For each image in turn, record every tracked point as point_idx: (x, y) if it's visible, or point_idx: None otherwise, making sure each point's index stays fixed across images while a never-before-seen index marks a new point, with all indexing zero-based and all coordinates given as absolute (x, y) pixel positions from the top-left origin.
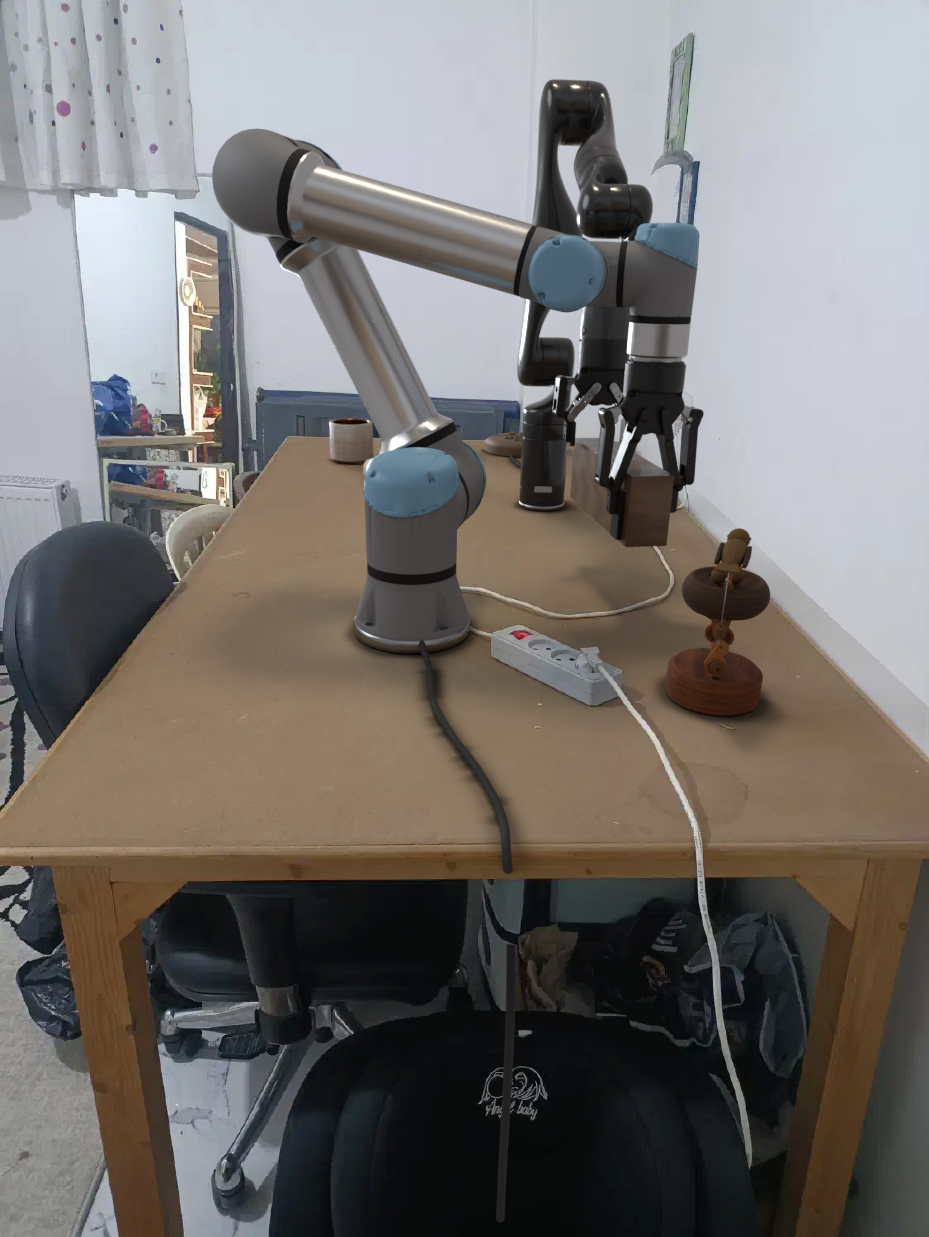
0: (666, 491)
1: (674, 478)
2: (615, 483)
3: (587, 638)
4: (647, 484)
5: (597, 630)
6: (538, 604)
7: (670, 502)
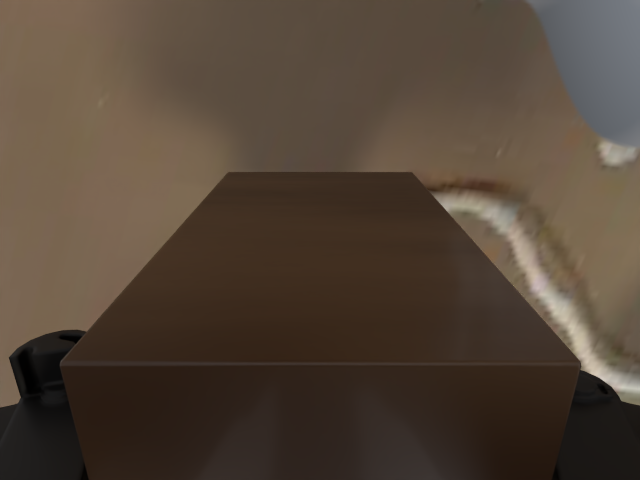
0: (188, 276)
1: (55, 436)
2: (607, 412)
3: (481, 54)
4: (371, 313)
5: (435, 104)
6: (510, 279)
7: (171, 241)
